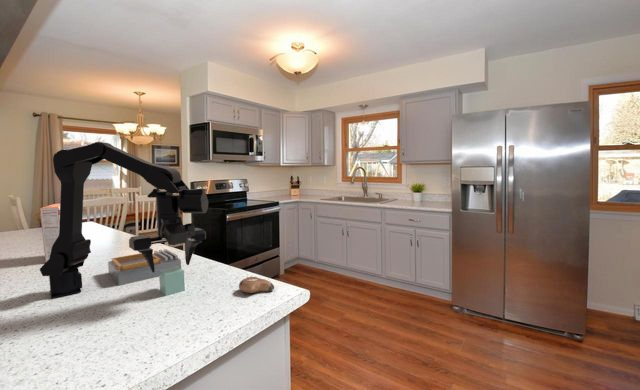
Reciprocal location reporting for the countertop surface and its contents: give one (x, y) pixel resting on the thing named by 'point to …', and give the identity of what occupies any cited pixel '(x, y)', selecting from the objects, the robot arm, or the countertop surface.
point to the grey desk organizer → (141, 266)
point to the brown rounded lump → (255, 285)
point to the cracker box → (50, 227)
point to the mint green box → (171, 280)
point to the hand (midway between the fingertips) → (170, 268)
